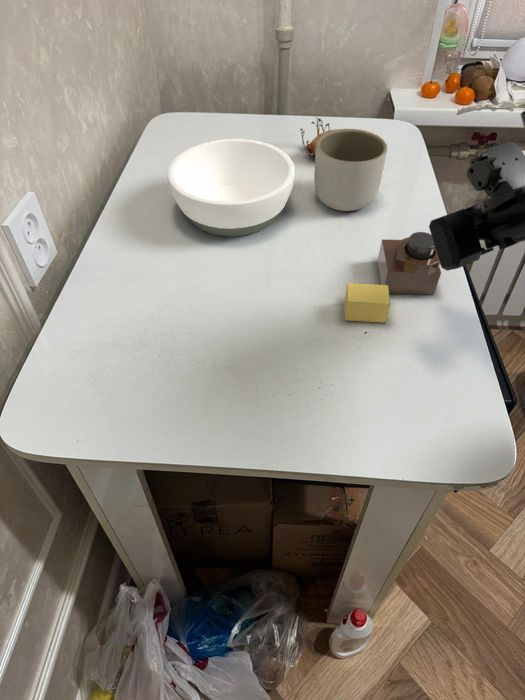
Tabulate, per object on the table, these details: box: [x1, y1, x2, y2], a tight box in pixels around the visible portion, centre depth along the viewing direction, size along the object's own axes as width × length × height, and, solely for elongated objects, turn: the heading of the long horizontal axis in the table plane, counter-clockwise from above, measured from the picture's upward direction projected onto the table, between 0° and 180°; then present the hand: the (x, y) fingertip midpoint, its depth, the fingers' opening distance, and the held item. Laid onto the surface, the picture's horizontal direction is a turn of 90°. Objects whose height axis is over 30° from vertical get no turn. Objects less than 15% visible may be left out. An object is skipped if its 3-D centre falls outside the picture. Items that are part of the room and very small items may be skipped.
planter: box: [313, 128, 388, 212], centre depth 92 cm, size 12×12×11 cm
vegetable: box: [299, 116, 340, 158], centre depth 104 cm, size 16×11×10 cm
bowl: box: [167, 138, 296, 238], centre depth 91 cm, size 22×22×8 cm
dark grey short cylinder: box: [406, 231, 435, 260], centre depth 75 cm, size 4×4×2 cm
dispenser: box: [377, 236, 442, 295], centre depth 79 cm, size 9×8×6 cm
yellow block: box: [343, 282, 391, 324], centre depth 75 cm, size 6×4×4 cm, turn 85°
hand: (452, 236), depth 69 cm, fingers closed
